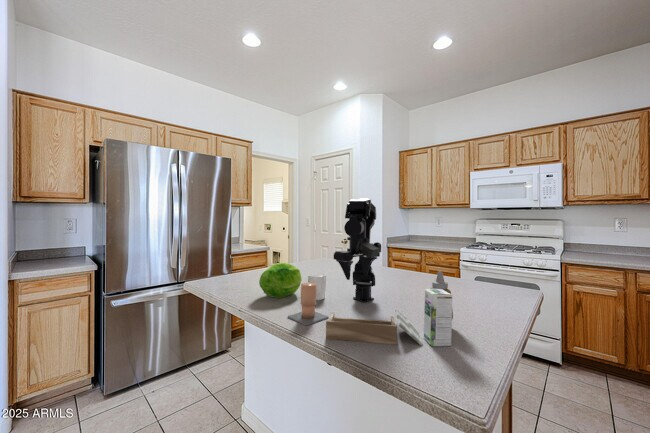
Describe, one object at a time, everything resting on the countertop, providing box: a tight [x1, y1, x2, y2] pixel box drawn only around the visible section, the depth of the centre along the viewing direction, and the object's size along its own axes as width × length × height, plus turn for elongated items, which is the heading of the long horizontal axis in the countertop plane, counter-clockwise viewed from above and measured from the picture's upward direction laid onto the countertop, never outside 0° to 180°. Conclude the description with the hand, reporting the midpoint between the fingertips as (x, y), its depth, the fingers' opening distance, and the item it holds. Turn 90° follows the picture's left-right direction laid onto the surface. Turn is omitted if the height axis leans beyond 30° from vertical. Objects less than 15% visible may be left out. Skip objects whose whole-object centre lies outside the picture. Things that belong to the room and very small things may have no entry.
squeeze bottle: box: [429, 270, 454, 320], centre depth 92 cm, size 8×8×18 cm
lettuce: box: [259, 262, 302, 299], centre depth 124 cm, size 15×23×16 cm
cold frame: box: [325, 309, 424, 346], centre depth 87 cm, size 14×27×6 cm, turn 81°
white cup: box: [307, 272, 327, 301], centre depth 121 cm, size 8×8×10 cm
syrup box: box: [423, 288, 453, 347], centre depth 81 cm, size 6×6×14 cm
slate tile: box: [287, 311, 330, 327], centre depth 98 cm, size 10×10×1 cm
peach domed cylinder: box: [300, 282, 317, 319], centre depth 98 cm, size 5×5×11 cm
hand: (357, 277), depth 103 cm, fingers open, 9 cm apart
